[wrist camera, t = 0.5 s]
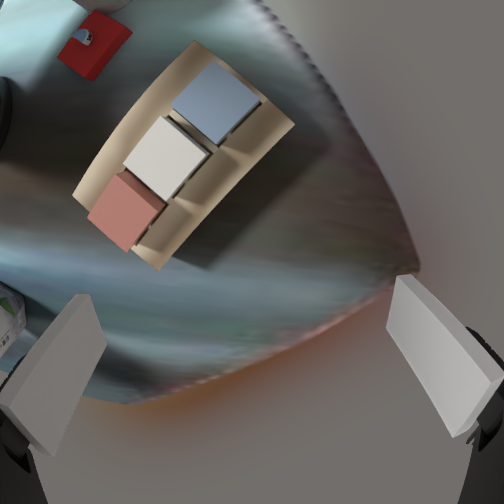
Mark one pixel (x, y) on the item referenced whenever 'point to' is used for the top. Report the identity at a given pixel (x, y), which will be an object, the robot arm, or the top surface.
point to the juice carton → (10, 317)
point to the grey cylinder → (102, 5)
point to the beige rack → (221, 155)
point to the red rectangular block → (93, 44)
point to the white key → (165, 157)
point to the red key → (125, 210)
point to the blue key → (215, 102)
